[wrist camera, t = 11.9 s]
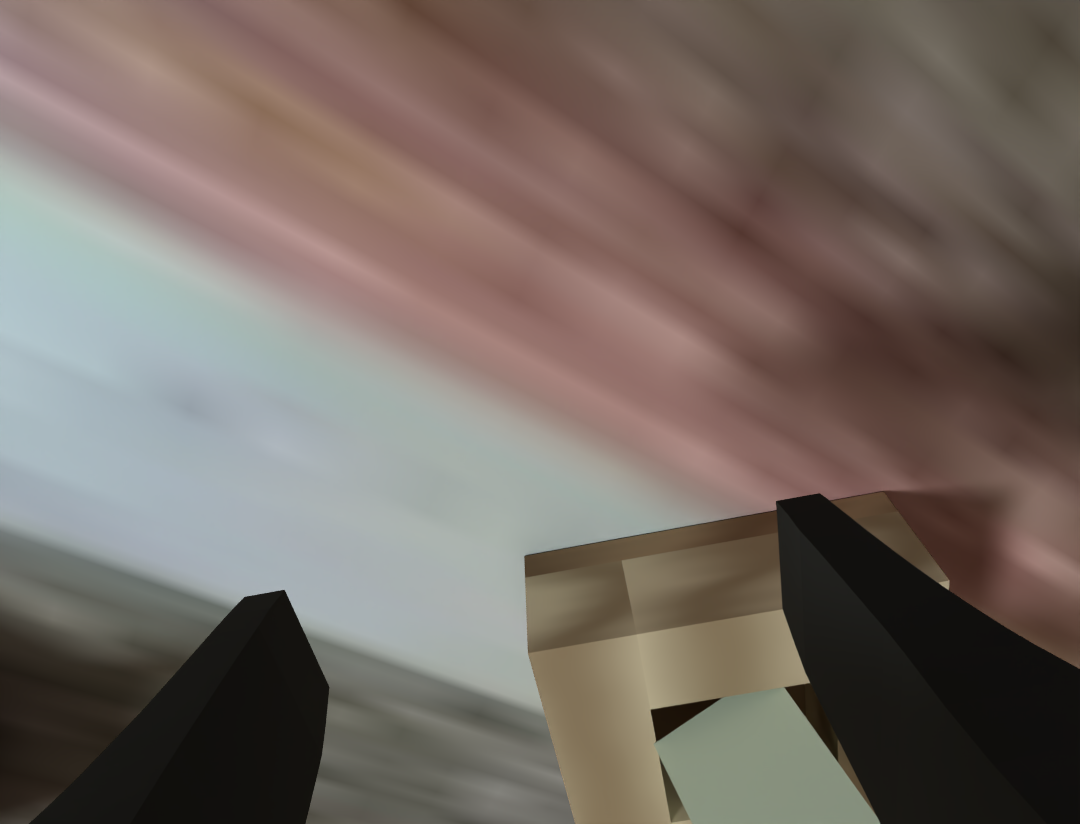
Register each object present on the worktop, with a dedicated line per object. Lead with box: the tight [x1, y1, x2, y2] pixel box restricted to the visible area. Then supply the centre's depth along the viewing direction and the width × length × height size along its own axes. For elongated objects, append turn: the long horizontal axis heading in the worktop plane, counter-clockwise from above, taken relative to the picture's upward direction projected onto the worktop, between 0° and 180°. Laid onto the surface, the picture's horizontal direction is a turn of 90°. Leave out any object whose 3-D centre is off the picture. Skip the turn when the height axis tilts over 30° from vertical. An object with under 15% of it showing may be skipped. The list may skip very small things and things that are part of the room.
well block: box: [524, 492, 950, 824], centre depth 25 cm, size 11×11×4 cm
